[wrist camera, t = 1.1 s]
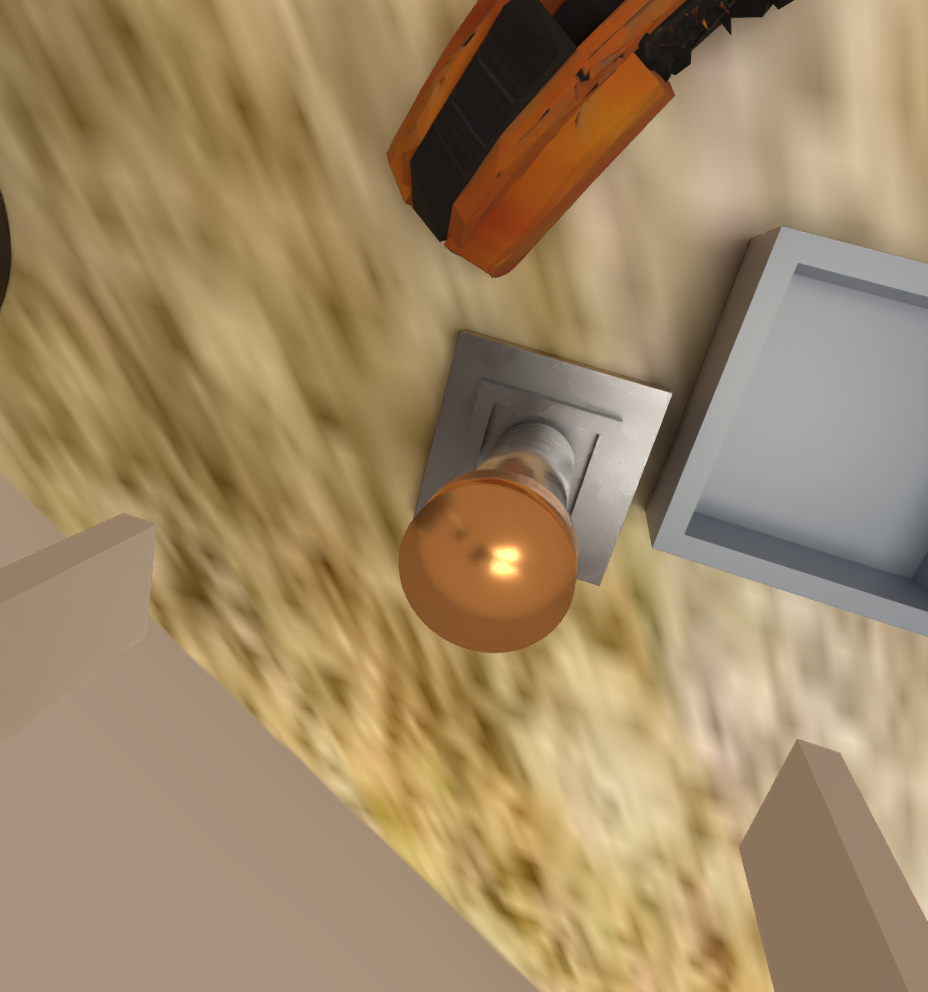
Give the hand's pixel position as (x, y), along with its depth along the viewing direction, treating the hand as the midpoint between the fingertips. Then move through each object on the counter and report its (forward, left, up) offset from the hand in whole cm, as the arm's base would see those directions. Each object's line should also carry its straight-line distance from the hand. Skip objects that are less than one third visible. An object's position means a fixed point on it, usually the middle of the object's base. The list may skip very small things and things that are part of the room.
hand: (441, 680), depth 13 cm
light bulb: (0, 0, -19) cm, 19 cm away
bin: (+12, +5, -21) cm, 25 cm away
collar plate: (0, 0, -21) cm, 21 cm away
